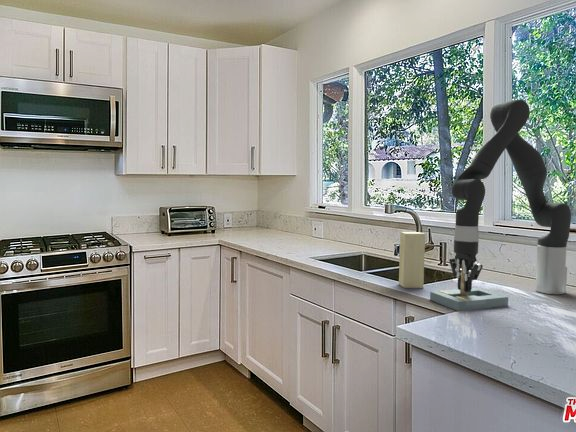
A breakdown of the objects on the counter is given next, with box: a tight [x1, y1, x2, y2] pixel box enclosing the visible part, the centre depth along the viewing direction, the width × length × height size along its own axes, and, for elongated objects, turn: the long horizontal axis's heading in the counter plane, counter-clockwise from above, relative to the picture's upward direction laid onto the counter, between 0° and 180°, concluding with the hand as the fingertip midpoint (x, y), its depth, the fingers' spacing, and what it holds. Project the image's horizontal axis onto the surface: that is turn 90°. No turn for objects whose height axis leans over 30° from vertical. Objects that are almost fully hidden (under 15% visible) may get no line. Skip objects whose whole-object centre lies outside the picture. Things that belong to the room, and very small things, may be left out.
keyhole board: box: [429, 287, 509, 312], centre depth 147 cm, size 20×14×3 cm
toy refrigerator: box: [398, 231, 426, 289], centre depth 171 cm, size 8×7×21 cm
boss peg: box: [460, 264, 470, 297], centre depth 146 cm, size 5×5×13 cm
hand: (464, 290), depth 146 cm, fingers closed on boss peg, 2 cm apart
